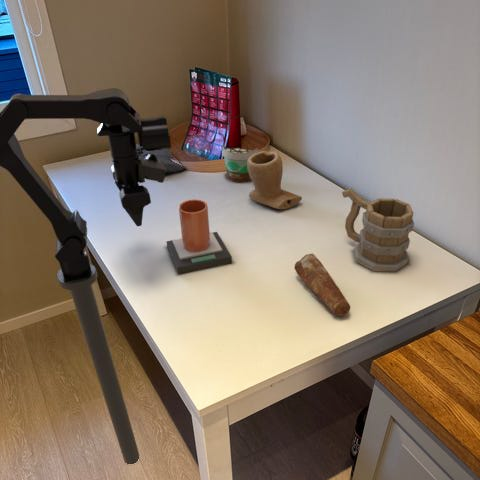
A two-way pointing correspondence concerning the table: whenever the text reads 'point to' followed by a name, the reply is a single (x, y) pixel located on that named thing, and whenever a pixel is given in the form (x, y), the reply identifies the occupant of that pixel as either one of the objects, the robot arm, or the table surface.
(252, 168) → the clay pipe bowl
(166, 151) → the dark slate chunk
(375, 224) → the tankard
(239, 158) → the food container
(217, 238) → the kitchen scale
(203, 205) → the tumbler
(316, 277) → the brown tapered rod
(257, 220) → the table surface
